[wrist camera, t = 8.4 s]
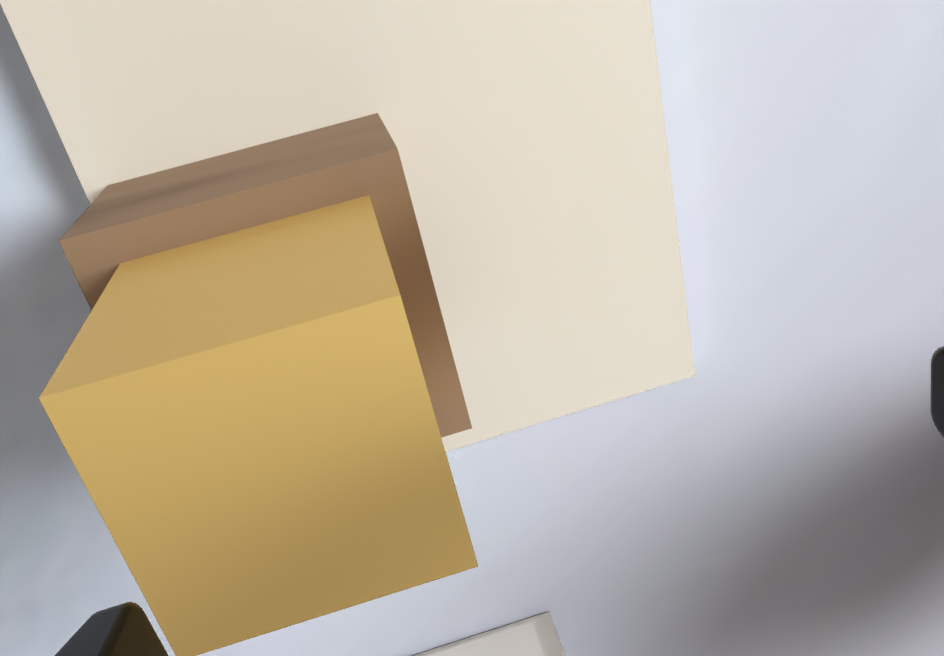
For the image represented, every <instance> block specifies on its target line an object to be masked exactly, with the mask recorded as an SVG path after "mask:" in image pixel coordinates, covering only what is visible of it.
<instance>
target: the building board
mask: <svg viewBox="0 0 944 656" xmlns="http://www.w3.org/2000/svg"><path fill="white" fill-rule="evenodd" d="M0 4H1V6H2V8H3V11H4V13H5V15H6V17H7V19H8V22H9V24H10V26H11V28H12V31H13V33H14V35H15V37H16V40H17V42H18V44H19V46H20V49H21V51H22V53H23V55H24V57H25V60H26V62H27V64H28V66H29V69H30V71H31V73H32V75H33V78H34V80H35V82H36V84H37V87H38V89H39V91H40V93H41V95H42V98H43V100H44V102H45V104H46V107H47V109H48V111H49V113H50V116H51V118H52V120H53V122H54V124H55V127H56V129H57V131H58V133H59V136H60V138H61V140H62V142H63V145H64V147H65V149H66V151H67V154H68V156H69V158H70V160H71V162H72V165H73V167H74V169H75V171H76V174H77V176H78V178H79V180H80V183H81V185H82V187H83V189H84V191H85V194H86V196H87V198H88V200H89V203H90V205H91V204H92V202H93V201H94V200H95V199H96V198H97V197H98V196H99V195H100V193H101V192H102V191H103V190H104V189H105V188H106V187H107V185H110V184H114V183H118V182H122V181H125V180H129V179H133V178H137V177H140V176H144V175H148V174H151V173H155V172H159V171H163V170H166V169H170V168H174V167H178V166H181V165H185V164H189V163H193V162H196V161H200V160H204V159H207V158H211V157H215V156H219V155H222V154H226V153H230V152H234V151H237V150H241V149H245V148H249V147H252V146H256V145H260V144H264V143H267V142H271V141H275V140H278V139H282V138H286V137H290V136H293V135H297V134H301V133H305V132H308V131H312V130H316V129H320V128H323V127H327V126H331V125H334V124H338V123H342V122H346V121H349V120H353V119H357V118H361V117H364V116H368V115H372V114H376V113H378V114H379V116H380V118H381V120H382V121H383V123H384V125H385V127H386V129H387V130H388V132H389V134H390V136H391V138H392V139H393V141H394V143H395V145H396V147H397V148H398V152H399V156H400V159H401V163H402V167H403V171H404V174H405V178H406V182H407V186H408V189H409V193H410V197H411V201H412V204H413V208H414V212H415V216H416V219H417V223H418V227H419V231H420V234H421V238H422V242H423V246H424V249H425V253H426V257H427V260H428V264H429V268H430V272H431V275H432V279H433V283H434V287H435V290H436V294H437V298H438V302H439V305H440V309H441V313H442V317H443V320H444V324H445V328H446V332H447V335H448V339H449V343H450V347H451V350H452V354H453V358H454V362H455V365H456V369H457V373H458V377H459V380H460V384H461V388H462V392H463V395H464V399H465V403H466V407H467V410H468V414H469V418H470V422H471V425H472V429H468V430H465V431H462V432H458V433H455V434H452V435H448V436H445V437H442V442H443V445H444V449H445V452H447V451H450V450H453V449H457V448H460V447H463V446H466V445H470V444H473V443H476V442H480V441H483V440H486V439H489V438H493V437H496V436H499V435H503V434H506V433H509V432H512V431H516V430H519V429H522V428H526V427H529V426H532V425H535V424H539V423H542V422H545V421H549V420H552V419H555V418H558V417H562V416H565V415H568V414H572V413H575V412H578V411H581V410H585V409H588V408H591V407H595V406H598V405H601V404H604V403H608V402H611V401H614V400H617V399H621V398H624V397H627V396H631V395H634V394H637V393H640V392H644V391H647V390H650V389H654V388H657V387H660V386H663V385H667V384H670V383H673V382H677V381H680V380H683V379H686V378H690V377H693V376H695V372H694V363H693V355H692V347H691V338H690V330H689V322H688V313H687V305H686V297H685V289H684V280H683V272H682V264H681V255H680V247H679V239H678V230H677V222H676V214H675V205H674V197H673V189H672V180H671V172H670V164H669V155H668V147H667V139H666V130H665V122H664V114H663V105H662V97H661V89H660V80H659V72H658V64H657V55H656V47H655V39H654V30H653V22H652V14H651V5H650V0H0Z"/></svg>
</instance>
